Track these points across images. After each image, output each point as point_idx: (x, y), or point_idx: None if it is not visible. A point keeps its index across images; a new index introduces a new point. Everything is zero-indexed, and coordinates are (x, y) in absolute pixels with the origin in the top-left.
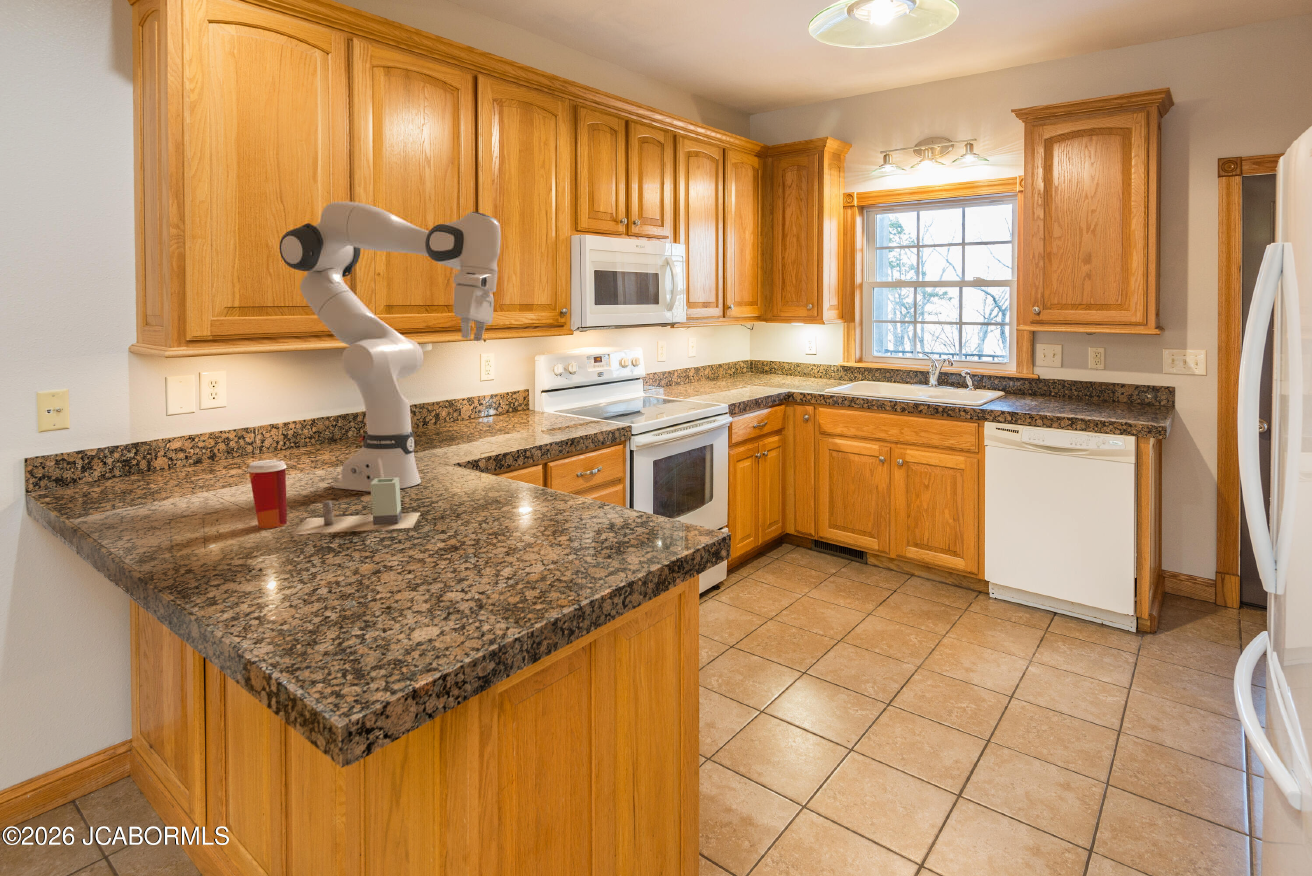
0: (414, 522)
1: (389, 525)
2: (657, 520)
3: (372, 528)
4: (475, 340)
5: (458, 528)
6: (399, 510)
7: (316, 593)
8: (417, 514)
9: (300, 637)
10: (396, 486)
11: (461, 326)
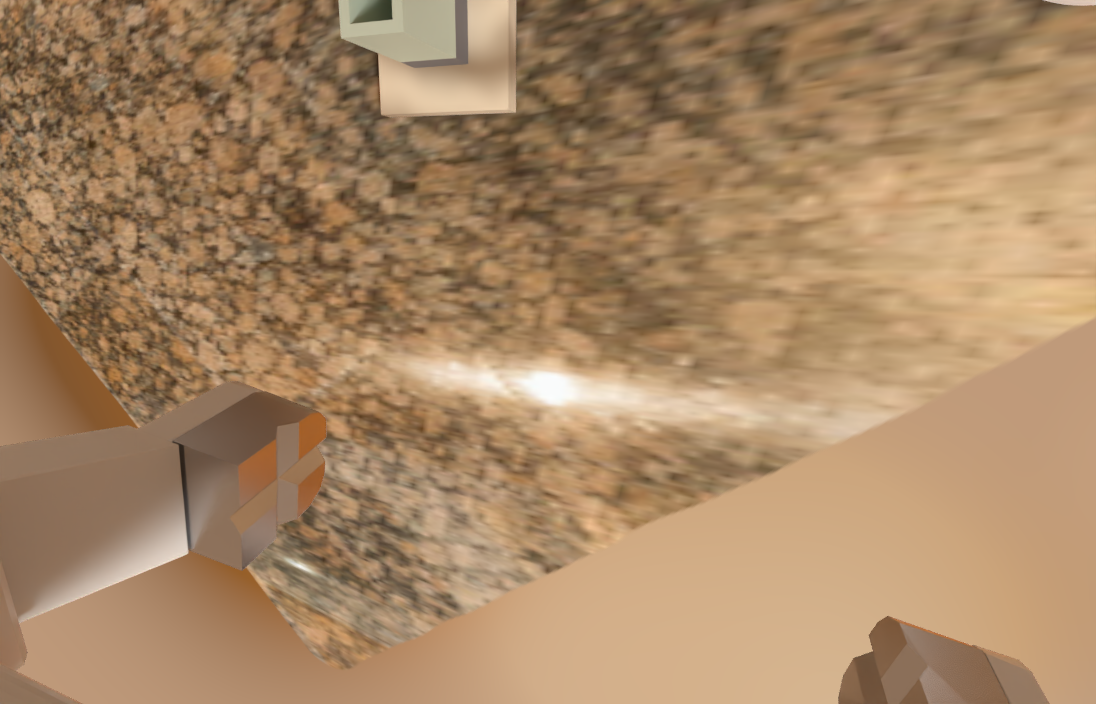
0: (419, 110)
1: None
2: (417, 617)
3: None
4: (873, 630)
5: (422, 221)
6: (430, 59)
7: (126, 8)
8: (490, 104)
9: (20, 45)
10: (366, 41)
11: (32, 447)
